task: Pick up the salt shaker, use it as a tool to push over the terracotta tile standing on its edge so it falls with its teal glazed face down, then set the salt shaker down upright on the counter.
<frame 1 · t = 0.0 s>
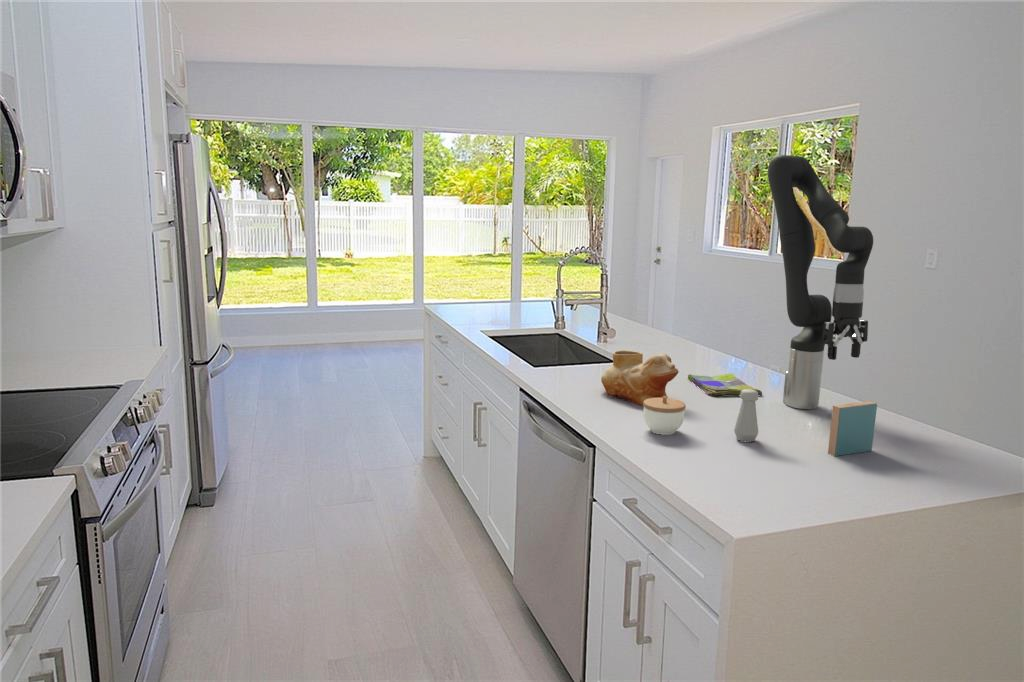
hand: (843, 358, 197), 17 cm above the counter, tool pointing down, fingers open, 8 cm apart
dish towel: (723, 389, 233), on the counter
ceramic vessel: (637, 398, 218), on the counter
tile: (849, 452, 172), on the counter
lidded jar: (662, 432, 185), on the counter
salt shaker: (745, 440, 180), on the counter
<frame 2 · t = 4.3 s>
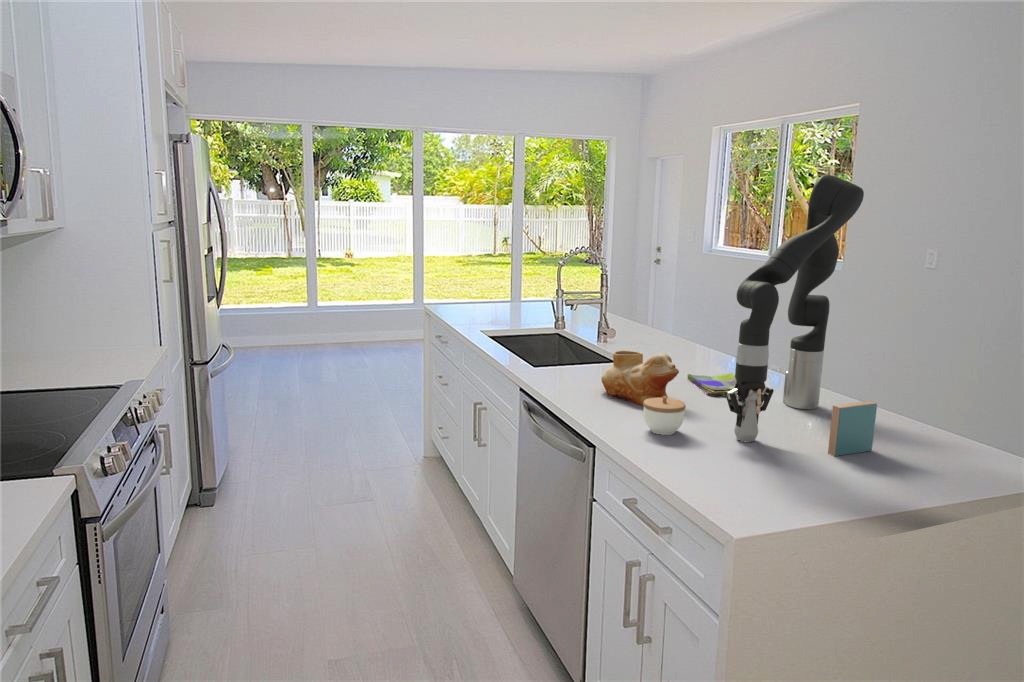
hand: (746, 427, 179), 3 cm above the counter, tool pointing down, fingers closed on salt shaker, 3 cm apart
salt shaker: (745, 440, 180), on the counter, touching gripper
everything else where it was.
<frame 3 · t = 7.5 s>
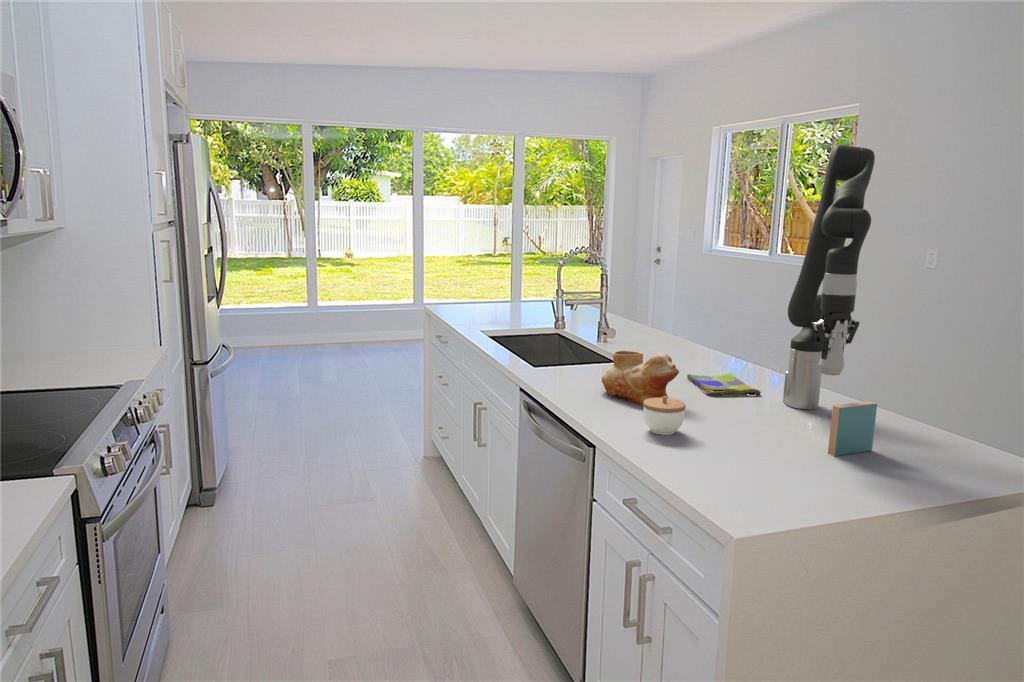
hand: (831, 361, 175), 21 cm above the counter, tool pointing down, fingers closed on salt shaker, 3 cm apart
salt shaker: (830, 374, 176), point 17 cm above the counter, touching gripper
everything else where it was.
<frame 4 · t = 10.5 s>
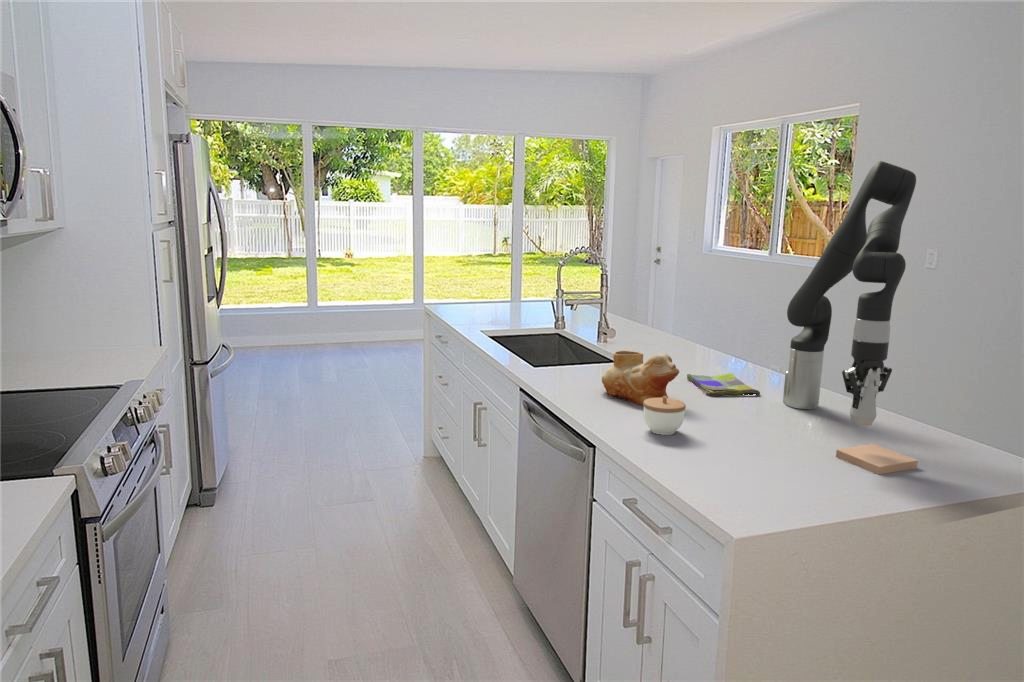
hand: (863, 409, 167), 11 cm above the counter, tool pointing down, fingers closed on salt shaker, 3 cm apart
tile: (854, 450, 170), point 1 cm above the counter, tilted 90°
salt shaker: (861, 423, 168), point 8 cm above the counter, touching gripper
everything else where it was.
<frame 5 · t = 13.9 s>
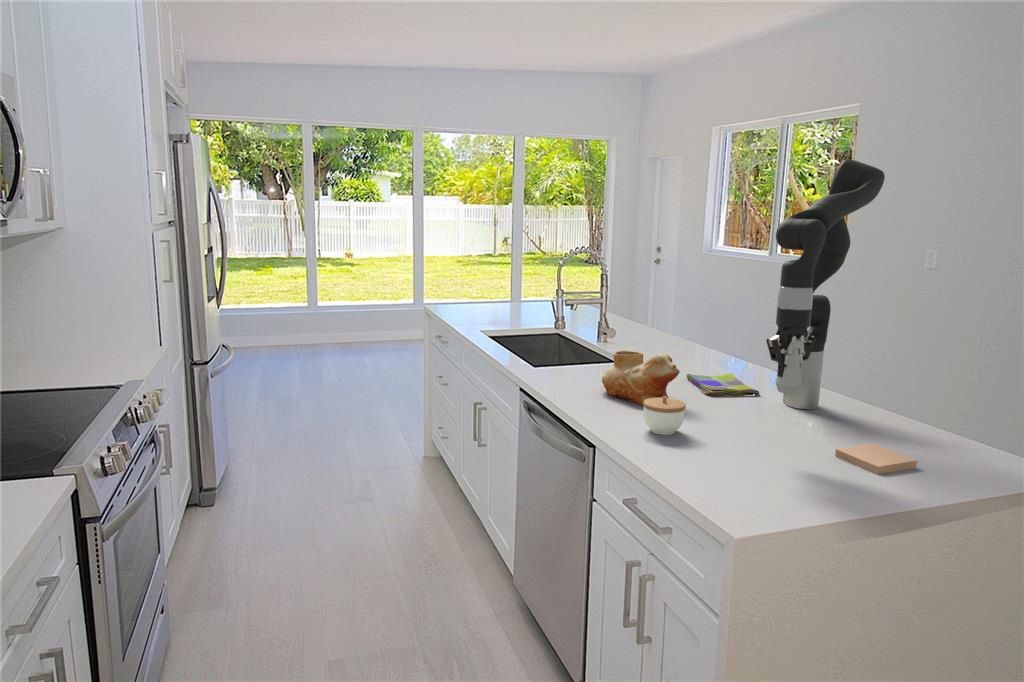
hand: (788, 378, 167), 18 cm above the counter, tool pointing down, fingers closed on salt shaker, 3 cm apart
salt shaker: (787, 392, 168), point 15 cm above the counter, touching gripper
everything else where it was.
when the fingers open (4 cm above the counter, at t = 17.1 s): salt shaker drops 1 cm, on the counter.
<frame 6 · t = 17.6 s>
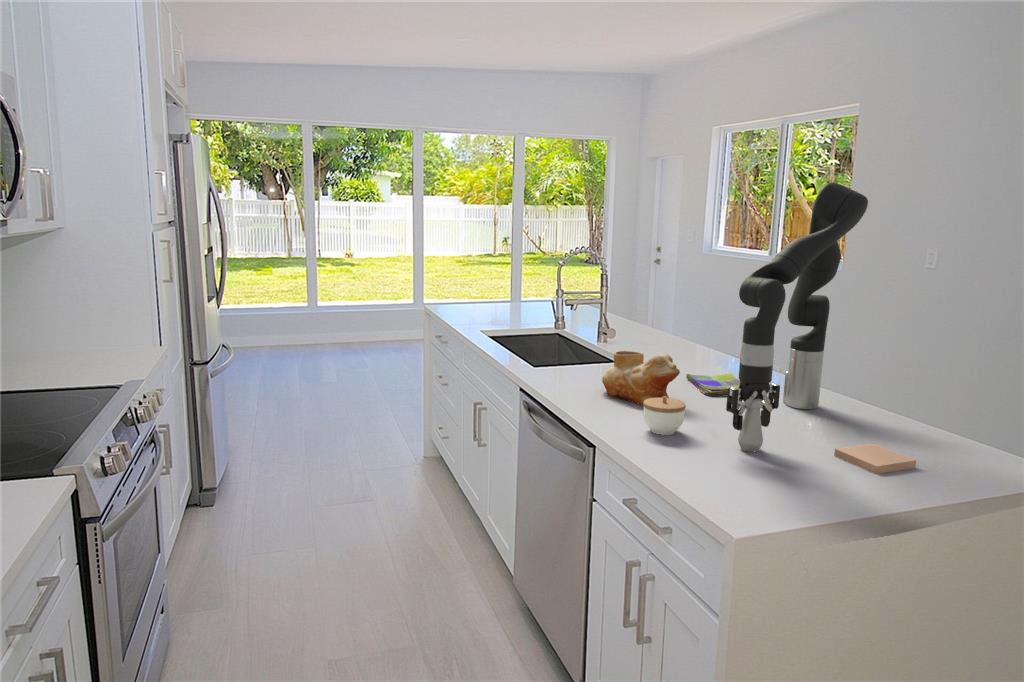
hand: (750, 427, 172), 5 cm above the counter, tool pointing down, fingers open, 7 cm apart
salt shaker: (749, 450, 172), on the counter
everything else where it was.
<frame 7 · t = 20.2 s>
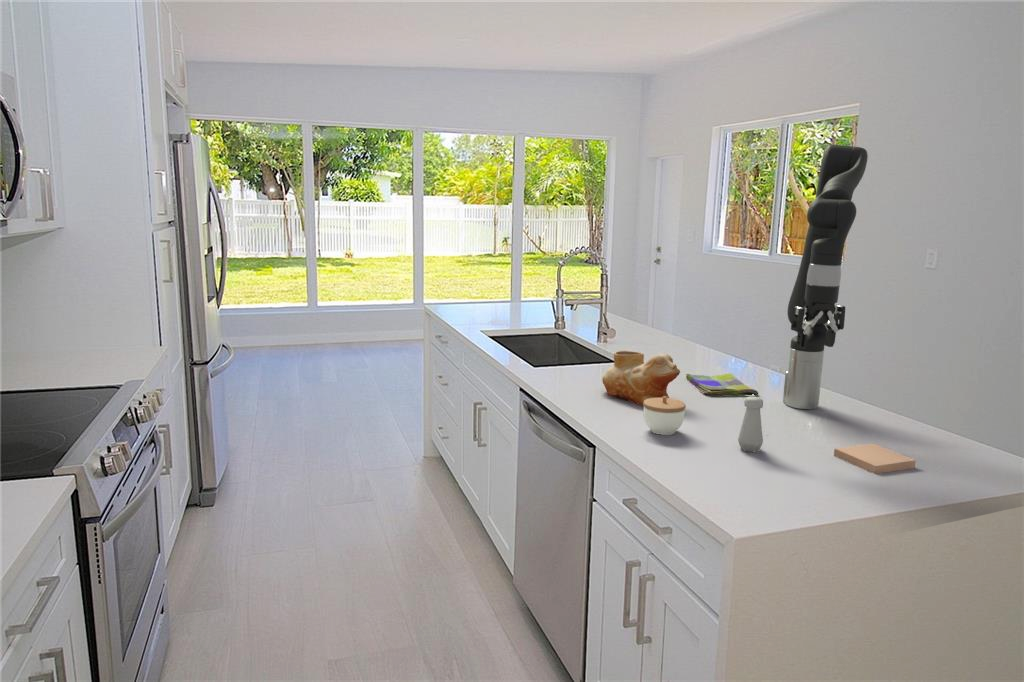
hand: (815, 347, 176), 24 cm above the counter, tool pointing down, fingers open, 8 cm apart
nothing on the counter moved.
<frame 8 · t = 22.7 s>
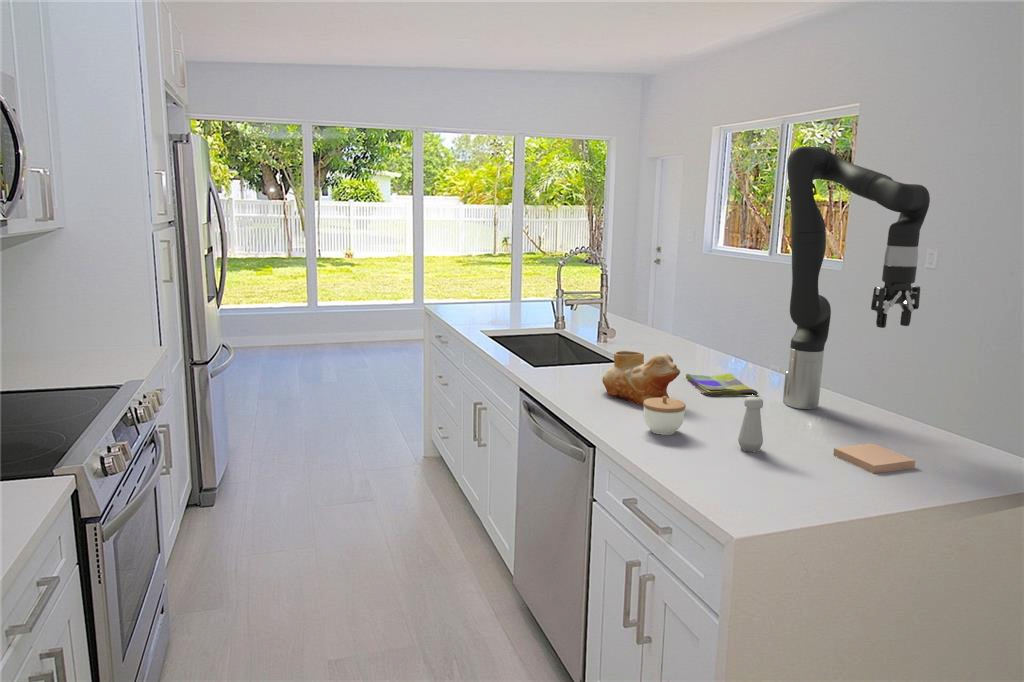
hand: (892, 326, 184), 28 cm above the counter, tool pointing down, fingers open, 8 cm apart
at the end: tile tilted 90°; salt shaker tilted 0°; salt shaker inside the target area (0.1 cm from its centre), on the counter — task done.
